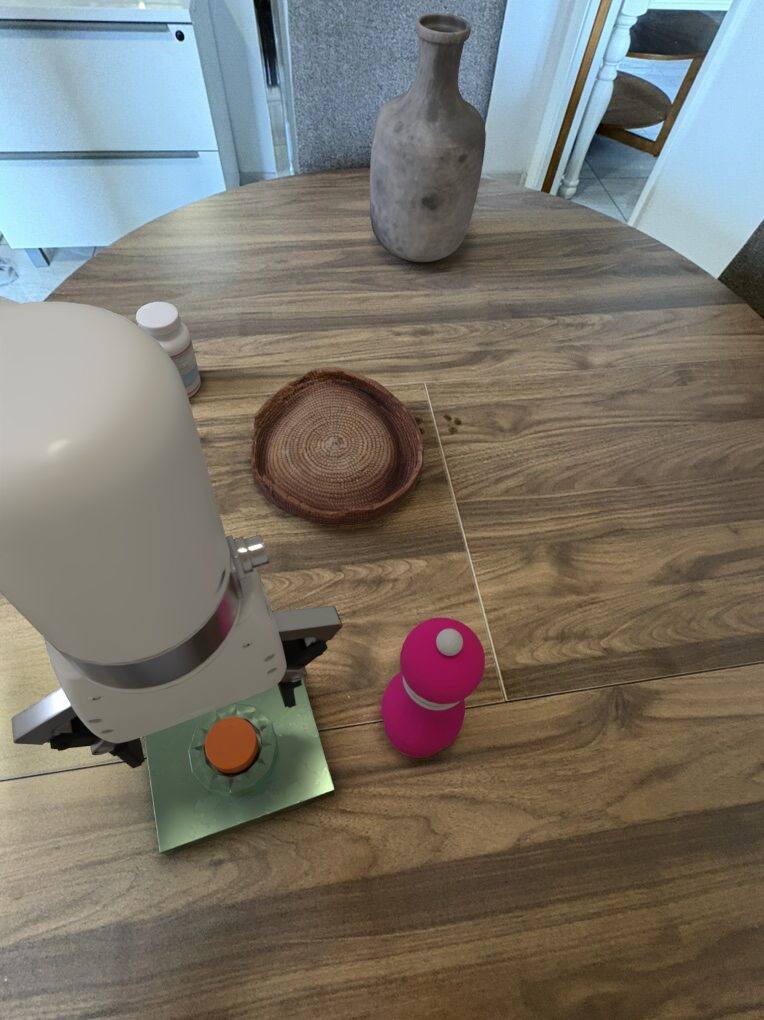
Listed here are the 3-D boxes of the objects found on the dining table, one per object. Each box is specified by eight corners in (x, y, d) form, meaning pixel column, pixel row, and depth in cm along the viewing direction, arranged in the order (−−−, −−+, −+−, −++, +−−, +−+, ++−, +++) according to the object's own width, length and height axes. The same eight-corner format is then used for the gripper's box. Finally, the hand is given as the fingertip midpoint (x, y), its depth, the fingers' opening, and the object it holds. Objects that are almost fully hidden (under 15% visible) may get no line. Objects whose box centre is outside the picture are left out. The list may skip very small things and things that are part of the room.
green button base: (167, 856, 49) (153, 850, 45) (148, 723, 55) (135, 708, 51) (334, 795, 53) (334, 785, 49) (301, 676, 58) (298, 659, 55)
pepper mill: (366, 744, 55) (379, 665, 39) (394, 672, 59) (418, 572, 43) (442, 777, 54) (489, 709, 37) (466, 701, 58) (518, 610, 41)
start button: (213, 780, 49) (210, 776, 47) (204, 731, 51) (200, 725, 49) (263, 763, 50) (261, 758, 48) (252, 716, 52) (249, 710, 50)
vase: (345, 243, 99) (350, 13, 74) (416, 210, 105) (441, -10, 81) (415, 292, 93) (445, 60, 68) (485, 254, 99) (535, 31, 75)
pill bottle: (142, 389, 78) (116, 316, 68) (177, 363, 81) (157, 290, 72) (177, 411, 76) (155, 339, 67) (212, 383, 79) (195, 311, 70)
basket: (239, 402, 78) (234, 373, 73) (392, 382, 81) (395, 353, 77) (266, 553, 66) (262, 528, 61) (444, 520, 69) (451, 495, 65)
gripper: (313, 469, 30) (319, 618, 44) (-92, 583, 25) (62, 709, 39) (372, 601, 26) (358, 717, 40) (-91, 765, 21) (78, 831, 35)
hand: (212, 713), depth 39 cm, fingers open, 9 cm apart
